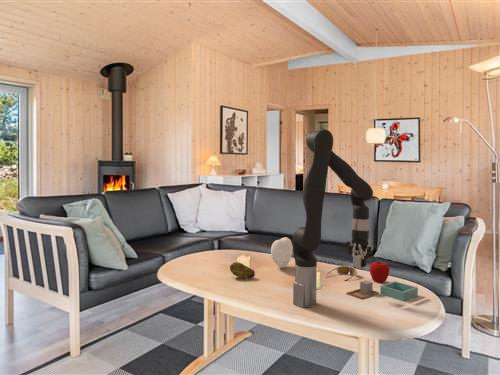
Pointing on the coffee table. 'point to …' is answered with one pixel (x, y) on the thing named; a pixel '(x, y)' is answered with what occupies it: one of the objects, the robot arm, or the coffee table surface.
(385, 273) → the apple
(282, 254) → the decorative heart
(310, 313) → the coffee table surface
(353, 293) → the tray
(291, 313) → the coffee table surface
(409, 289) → the teal open box
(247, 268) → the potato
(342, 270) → the sunglasses
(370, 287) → the block
